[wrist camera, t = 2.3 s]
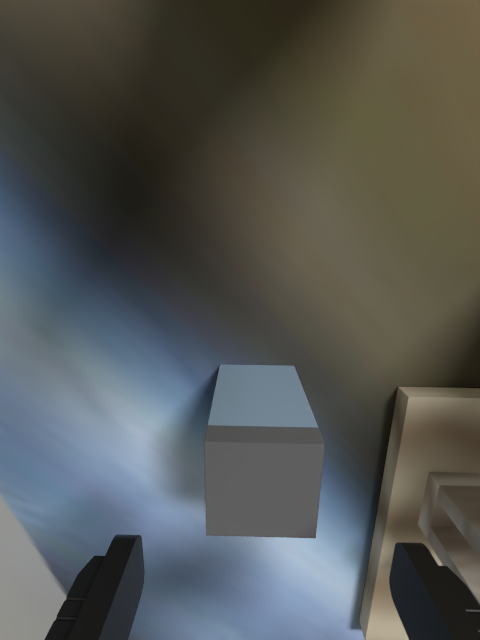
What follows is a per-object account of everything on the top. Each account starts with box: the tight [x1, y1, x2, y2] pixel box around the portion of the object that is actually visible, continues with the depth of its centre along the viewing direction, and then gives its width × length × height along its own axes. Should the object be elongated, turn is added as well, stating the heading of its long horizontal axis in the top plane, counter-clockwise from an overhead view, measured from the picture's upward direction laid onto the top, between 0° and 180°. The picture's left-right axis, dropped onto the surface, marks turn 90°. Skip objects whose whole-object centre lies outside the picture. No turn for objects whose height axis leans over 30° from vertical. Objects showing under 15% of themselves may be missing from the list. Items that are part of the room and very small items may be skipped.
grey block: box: [204, 365, 325, 538], centre depth 15 cm, size 4×4×7 cm
